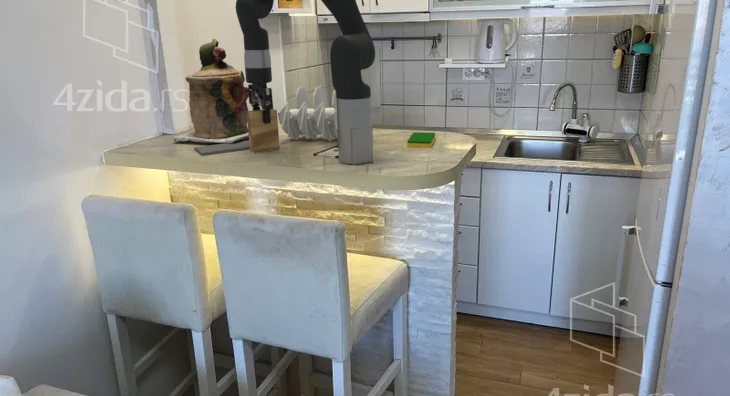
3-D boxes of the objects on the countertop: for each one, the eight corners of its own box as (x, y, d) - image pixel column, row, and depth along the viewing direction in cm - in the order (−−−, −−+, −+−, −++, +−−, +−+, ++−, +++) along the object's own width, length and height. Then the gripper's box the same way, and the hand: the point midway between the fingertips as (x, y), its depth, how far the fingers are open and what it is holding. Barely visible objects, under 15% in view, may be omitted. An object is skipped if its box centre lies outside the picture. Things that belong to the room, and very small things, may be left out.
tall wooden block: (279, 149, 167) (276, 110, 163) (254, 153, 163) (250, 112, 159) (274, 147, 170) (271, 108, 166) (250, 150, 166) (246, 111, 163)
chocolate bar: (371, 144, 168) (339, 156, 153) (371, 147, 168) (339, 160, 154) (346, 141, 172) (313, 153, 158) (346, 144, 173) (313, 157, 158)
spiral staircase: (296, 148, 186) (366, 147, 179) (273, 135, 170) (349, 133, 162) (300, 96, 189) (369, 93, 181) (277, 78, 172) (353, 74, 165)
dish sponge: (435, 139, 176) (435, 132, 176) (430, 149, 164) (430, 141, 163) (413, 139, 178) (413, 132, 177) (407, 148, 165) (407, 141, 164)
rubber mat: (263, 147, 170) (263, 144, 170) (202, 155, 161) (202, 153, 161) (253, 142, 178) (253, 139, 178) (194, 149, 169) (194, 147, 169)
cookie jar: (169, 142, 179) (155, 40, 170) (212, 129, 202) (202, 39, 192) (235, 144, 171) (224, 37, 162) (272, 130, 194) (264, 36, 185)
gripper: (279, 66, 155) (282, 123, 160) (262, 63, 167) (265, 116, 172) (253, 68, 151) (257, 126, 157) (237, 64, 163) (242, 119, 168)
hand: (262, 121), depth 164 cm, fingers open, 8 cm apart
